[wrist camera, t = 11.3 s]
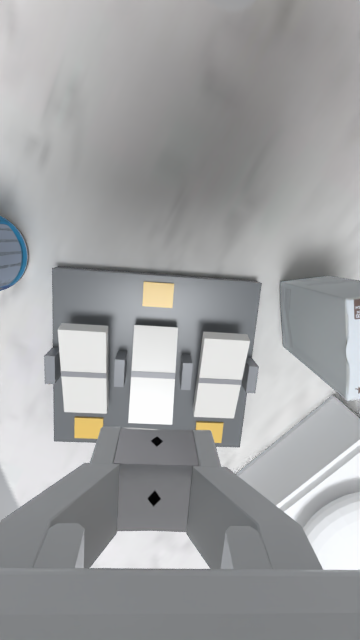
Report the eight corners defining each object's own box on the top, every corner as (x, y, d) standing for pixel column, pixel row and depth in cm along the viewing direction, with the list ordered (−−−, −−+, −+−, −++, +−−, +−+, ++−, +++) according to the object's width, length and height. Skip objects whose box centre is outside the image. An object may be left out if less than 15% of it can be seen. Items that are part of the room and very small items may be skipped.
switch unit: (57, 266, 36) (42, 270, 31) (256, 280, 38) (269, 286, 33) (59, 431, 41) (46, 456, 36) (235, 437, 42) (245, 462, 38)
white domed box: (331, 393, 42) (432, 483, 26) (407, 480, 46) (534, 602, 30) (227, 479, 44) (263, 608, 28) (308, 555, 48) (379, 706, 32)
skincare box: (328, 340, 40) (423, 397, 26) (279, 347, 40) (347, 407, 25) (327, 271, 38) (431, 289, 24) (275, 277, 38) (347, 300, 23)
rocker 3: (203, 331, 34) (204, 338, 32) (246, 334, 34) (250, 341, 33) (192, 408, 38) (193, 417, 37) (231, 409, 38) (233, 418, 37)
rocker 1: (61, 322, 33) (57, 330, 31) (108, 325, 33) (105, 332, 32) (67, 403, 37) (64, 412, 36) (108, 405, 37) (106, 414, 36)
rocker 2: (135, 324, 35) (134, 324, 34) (177, 327, 36) (178, 327, 34) (129, 419, 35) (128, 423, 34) (171, 420, 36) (172, 424, 34)
